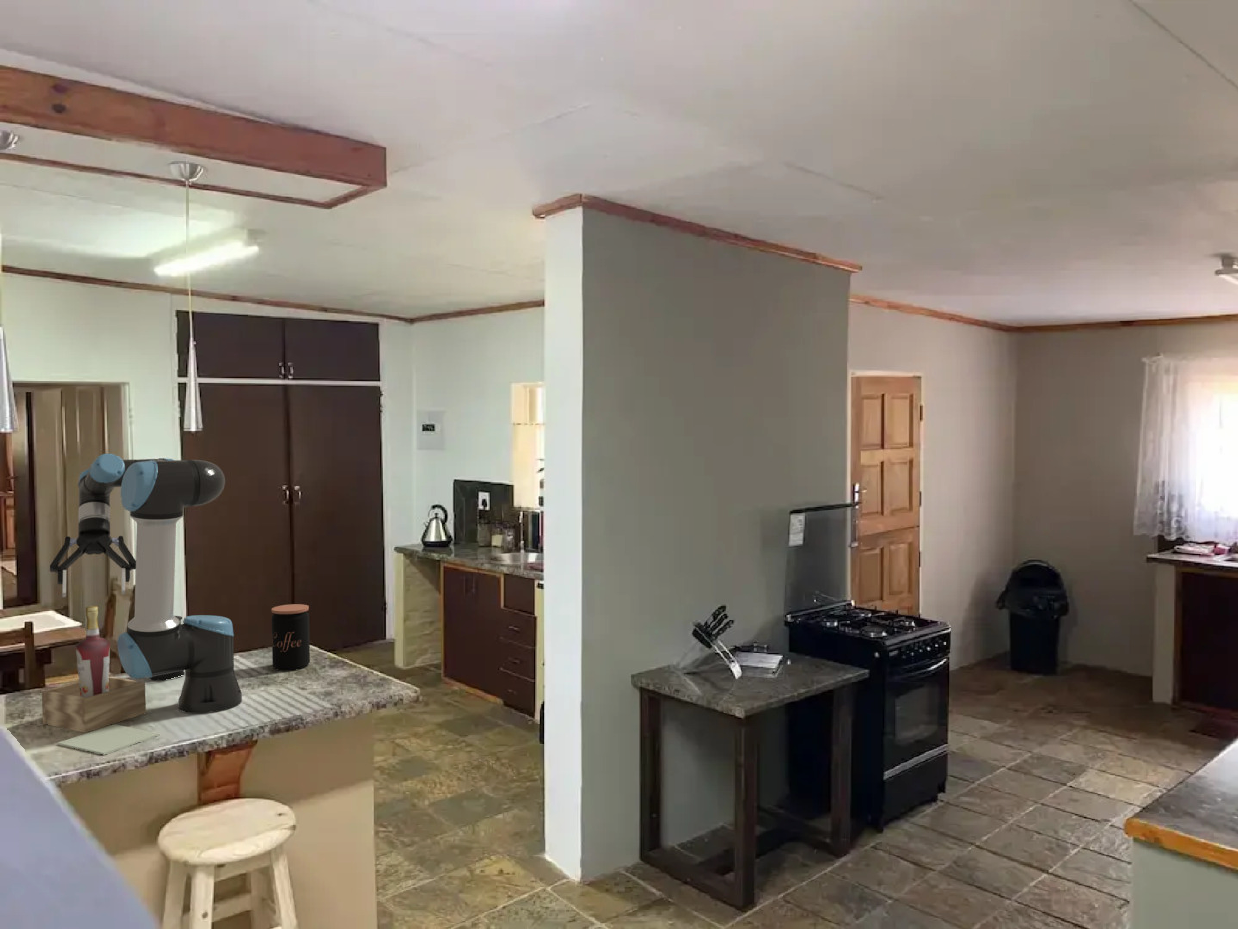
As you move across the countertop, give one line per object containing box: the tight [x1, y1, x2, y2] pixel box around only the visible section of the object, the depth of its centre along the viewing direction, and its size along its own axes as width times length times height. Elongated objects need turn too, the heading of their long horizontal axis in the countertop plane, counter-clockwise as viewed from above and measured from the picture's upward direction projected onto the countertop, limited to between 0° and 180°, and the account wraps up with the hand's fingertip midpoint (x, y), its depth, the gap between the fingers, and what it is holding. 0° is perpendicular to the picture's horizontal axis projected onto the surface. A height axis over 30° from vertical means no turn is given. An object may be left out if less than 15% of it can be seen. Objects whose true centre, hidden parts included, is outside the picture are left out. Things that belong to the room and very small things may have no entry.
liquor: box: [75, 605, 111, 698], centre depth 226 cm, size 7×7×28 cm
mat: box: [57, 723, 161, 756], centre depth 211 cm, size 16×14×1 cm
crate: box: [41, 675, 147, 734], centre depth 227 cm, size 16×16×8 cm
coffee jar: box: [271, 603, 311, 671], centre depth 275 cm, size 11×11×18 cm
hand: (94, 593), depth 240 cm, fingers open, 13 cm apart
